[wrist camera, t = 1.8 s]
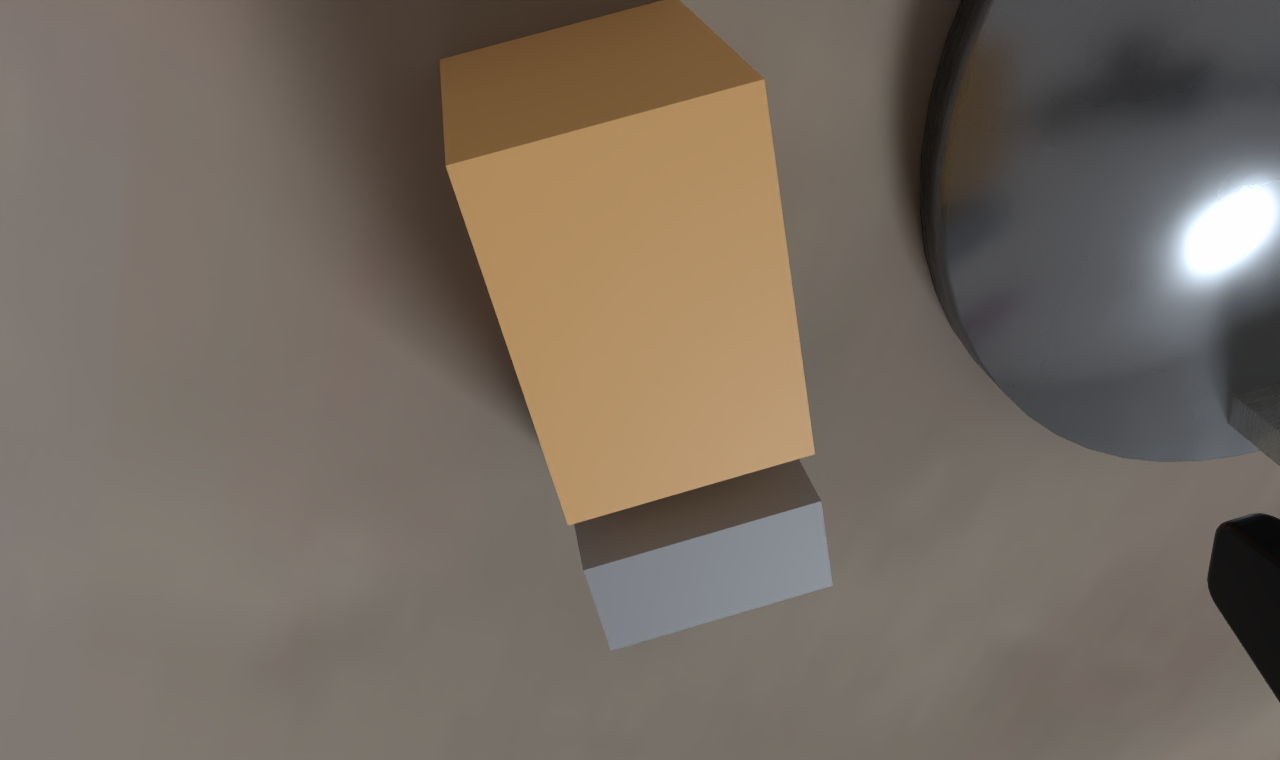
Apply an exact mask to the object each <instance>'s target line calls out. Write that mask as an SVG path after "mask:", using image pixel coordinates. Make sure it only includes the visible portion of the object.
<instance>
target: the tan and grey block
mask: <svg viewBox="0 0 1280 760" xmlns="http://www.w3.org/2000/svg"><path fill="white" fill-rule="evenodd" d="M440 77H441V94H442V112H443V129H444V147H445V164H446V168H447V171H448V174H449V177H450V180H451V183H452V186H453V189H454V192H455V195H456V198H457V201H458V204H459V207H460V210H461V212H462V215H463V218H464V221H465V224H466V227H467V230H468V233H469V236H470V239H471V242H472V245H473V248H474V251H475V254H476V256H477V259H478V262H479V265H480V268H481V271H482V274H483V277H484V280H485V283H486V286H487V289H488V292H489V295H490V298H491V301H492V303H493V306H494V309H495V312H496V315H497V318H498V321H499V324H500V327H501V330H502V333H503V336H504V339H505V342H506V345H507V347H508V350H509V353H510V356H511V359H512V362H513V365H514V368H515V371H516V374H517V377H518V380H519V383H520V386H521V389H522V391H523V394H524V397H525V400H526V403H527V406H528V409H529V412H530V415H531V418H532V421H533V424H534V427H535V430H536V433H537V435H538V438H539V441H540V444H541V447H542V450H543V453H544V456H545V459H546V462H547V465H548V468H549V471H550V474H551V477H552V479H553V482H554V485H555V488H556V491H557V494H558V497H559V500H560V503H561V506H562V509H563V512H564V515H565V518H566V521H567V523H568V526H569V525H572V524H574V525H575V530H576V535H577V540H578V545H579V550H580V555H581V560H582V565H583V570H584V573H585V576H586V579H587V582H588V585H589V588H590V591H591V594H592V597H593V600H594V603H595V606H596V609H597V612H598V614H599V617H600V620H601V623H602V626H603V629H604V632H605V635H606V638H607V641H608V644H609V647H610V650H611V651H613V650H616V649H620V648H623V647H626V646H630V645H633V644H637V643H640V642H643V641H647V640H650V639H653V638H657V637H660V636H664V635H667V634H670V633H674V632H677V631H681V630H684V629H687V628H691V627H694V626H697V625H701V624H704V623H708V622H711V621H714V620H718V619H721V618H724V617H728V616H731V615H735V614H738V613H741V612H745V611H748V610H752V609H755V608H758V607H762V606H765V605H768V604H772V603H775V602H779V601H782V600H785V599H789V598H792V597H796V596H799V595H802V594H806V593H809V592H812V591H816V590H819V589H823V588H826V587H829V586H833V585H832V578H831V570H830V563H829V555H828V548H827V541H826V533H825V526H824V518H823V511H822V503H821V500H820V498H819V496H818V494H817V492H816V491H815V489H814V487H813V485H812V483H811V481H810V479H809V478H808V476H807V474H806V472H805V470H804V468H803V466H802V465H801V463H800V461H799V459H800V458H804V457H807V456H811V455H814V454H815V452H814V444H813V437H812V429H811V422H810V414H809V407H808V400H807V392H806V385H805V377H804V370H803V362H802V355H801V348H800V340H799V333H798V325H797V318H796V310H795V303H794V296H793V288H792V281H791V273H790V266H789V258H788V251H787V244H786V236H785V229H784V221H783V214H782V206H781V199H780V192H779V184H778V177H777V169H776V162H775V154H774V147H773V140H772V132H771V125H770V117H769V110H768V102H767V95H766V88H765V80H764V78H763V77H761V76H760V75H759V74H758V73H757V72H756V71H755V70H754V69H753V68H752V67H751V66H750V65H749V64H747V63H746V62H745V61H744V60H743V59H742V58H741V57H740V56H739V55H738V54H737V53H736V52H735V51H733V50H732V49H731V48H730V47H729V46H728V45H727V44H726V43H725V42H724V41H723V40H722V39H721V38H719V37H718V36H717V35H716V34H715V33H714V32H713V31H712V30H711V29H710V28H709V27H708V26H707V25H705V24H704V23H703V22H702V21H701V20H700V19H699V18H698V17H697V16H696V15H695V14H694V13H693V12H691V11H690V10H689V9H688V8H687V7H686V6H685V5H684V4H683V3H682V2H681V1H680V0H661V1H657V2H653V3H650V4H646V5H642V6H638V7H635V8H631V9H627V10H623V11H620V12H616V13H612V14H608V15H605V16H601V17H597V18H593V19H590V20H586V21H582V22H578V23H575V24H571V25H567V26H563V27H560V28H556V29H552V30H548V31H545V32H541V33H537V34H533V35H530V36H526V37H522V38H518V39H515V40H511V41H507V42H503V43H500V44H496V45H492V46H488V47H485V48H481V49H477V50H473V51H470V52H466V53H462V54H459V55H455V56H451V57H447V58H444V59H440Z"/></svg>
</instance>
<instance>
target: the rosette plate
mask: <svg viewBox="0 0 1280 760" xmlns="http://www.w3.org/2000/svg"><path fill="white" fill-rule="evenodd" d="M920 211H921V219H922V228H923V236H924V245H925V253H926V257H927V261H928V265H929V268H930V272H931V275H932V279H933V283H934V286H935V290H936V294H937V296H938V298H939V301H940V303H941V305H942V307H943V309H944V311H945V313H946V316H947V318H948V320H949V322H950V324H951V326H952V329H953V331H954V332H955V333H956V335H957V336H958V338H959V339H960V341H961V342H962V343H963V345H964V346H965V348H966V349H967V351H968V352H969V353H970V355H971V356H972V358H973V359H974V360H975V362H976V363H977V364H978V365H979V366H980V367H981V368H982V369H983V370H984V371H985V372H986V374H987V375H988V376H989V377H990V378H991V379H992V380H993V381H994V382H995V383H996V384H997V385H998V387H999V388H1000V389H1001V390H1002V391H1003V392H1004V393H1005V394H1006V395H1007V396H1008V397H1009V398H1010V399H1011V400H1012V401H1013V402H1014V403H1015V404H1016V405H1017V406H1018V407H1020V408H1021V409H1022V410H1023V411H1024V412H1025V413H1026V414H1027V415H1028V416H1029V417H1031V418H1032V419H1034V420H1035V421H1037V422H1038V423H1040V424H1041V425H1043V426H1044V427H1046V428H1047V429H1049V430H1050V431H1052V432H1053V433H1055V434H1056V435H1058V436H1061V437H1063V438H1065V439H1067V440H1070V441H1072V442H1074V443H1076V444H1079V445H1081V446H1083V447H1086V448H1088V449H1091V450H1095V451H1099V452H1103V453H1107V454H1110V455H1114V456H1118V457H1122V458H1129V459H1139V460H1148V461H1157V462H1177V461H1203V460H1210V459H1217V458H1225V457H1232V456H1239V455H1243V454H1247V453H1252V452H1256V451H1260V450H1261V451H1262V452H1263V453H1264V454H1266V455H1267V456H1268V457H1269V458H1271V459H1272V460H1273V461H1274V462H1275V463H1277V464H1278V465H1279V466H1280V0H962V2H961V5H960V7H959V10H958V12H957V15H956V18H955V20H954V23H953V25H952V28H951V30H950V33H949V35H948V38H947V41H946V43H945V47H944V51H943V54H942V58H941V62H940V65H939V69H938V73H937V76H936V80H935V84H934V87H933V91H932V95H931V98H930V103H929V109H928V116H927V122H926V129H925V136H924V142H923V149H922V156H921V193H920Z"/></svg>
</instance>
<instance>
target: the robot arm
mask: <svg viewBox="0 0 1280 760" xmlns="http://www.w3.org/2000/svg"><path fill="white" fill-rule="evenodd" d="M1207 581H1208V588H1209V591H1210V594H1211V597H1212V599H1213V601H1214V603H1215V604H1216V606H1217V608H1218V609H1219V611H1220V612H1221V614H1222V615H1223V617H1224V618H1225V620H1226V621H1227V623H1228V624H1229V626H1230V627H1231V629H1232V630H1233V632H1234V633H1235V635H1236V637H1237V638H1238V640H1239V641H1240V643H1241V644H1242V646H1243V647H1244V649H1245V650H1246V652H1247V653H1248V655H1249V656H1250V658H1251V659H1252V661H1253V662H1254V664H1255V665H1256V667H1257V669H1258V670H1259V672H1260V673H1261V675H1262V676H1263V678H1264V679H1265V681H1266V682H1267V684H1268V685H1269V687H1270V688H1271V690H1272V691H1273V693H1274V694H1275V696H1276V698H1277V699H1278V701H1279V702H1280V519H1278V518H1276V517H1273V516H1270V515H1267V514H1262V513H1255V514H1250V515H1246V516H1243V517H1240V518H1236V519H1233V520H1230V521H1226V522H1224V523H1222V524H1221V525H1220V526H1219V527H1218V528H1217V530H1216V533H1215V537H1214V543H1213V548H1212V554H1211V560H1210V565H1209V571H1208V578H1207Z"/></svg>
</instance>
